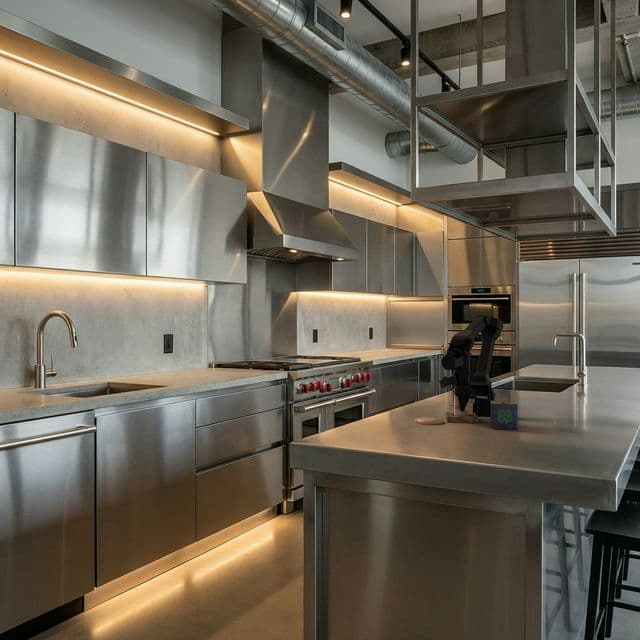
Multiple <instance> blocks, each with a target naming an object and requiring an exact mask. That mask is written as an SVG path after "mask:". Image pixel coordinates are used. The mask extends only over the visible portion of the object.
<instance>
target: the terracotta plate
mask: <svg viewBox="0 0 640 640" xmlns="http://www.w3.org/2000/svg"><path fill="white" fill-rule="evenodd" d="M414 421H415V423H416V424H419V425H429V426H431V425H432V426H433V425H434V426H437V425H442V424H444V419H442V418H438V417H426V416H423V417H416V418H415V420H414Z"/></svg>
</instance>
